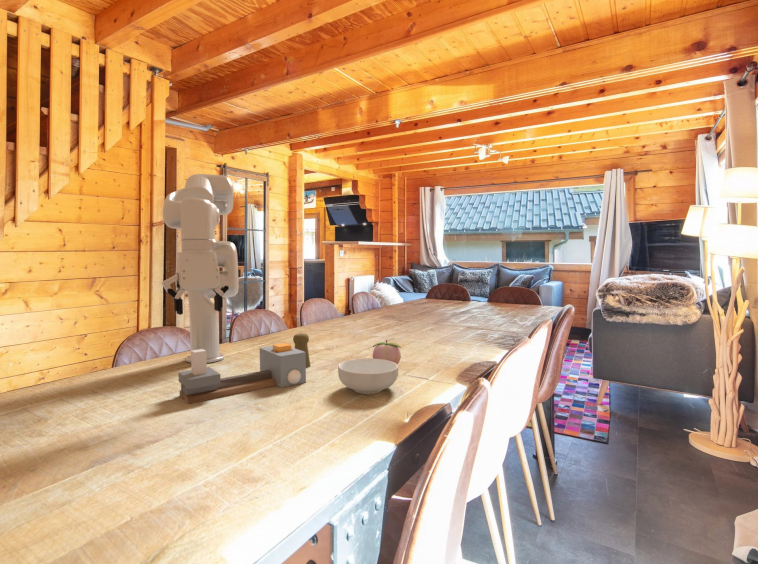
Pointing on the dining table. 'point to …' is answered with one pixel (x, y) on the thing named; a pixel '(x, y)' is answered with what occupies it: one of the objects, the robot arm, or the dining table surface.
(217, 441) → the dining table surface
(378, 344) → the decorative fruit
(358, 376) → the cereal bowl
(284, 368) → the grey button housing
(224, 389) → the rail track
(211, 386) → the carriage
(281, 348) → the button
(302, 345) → the cork
